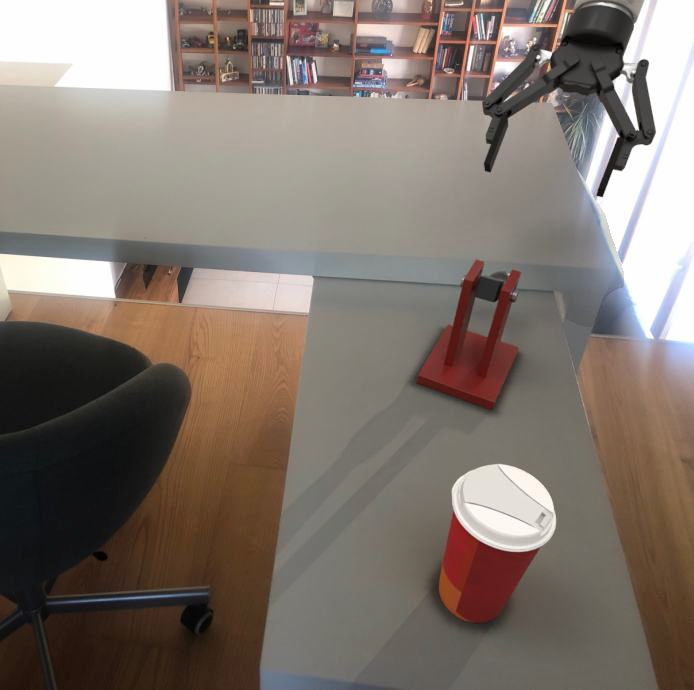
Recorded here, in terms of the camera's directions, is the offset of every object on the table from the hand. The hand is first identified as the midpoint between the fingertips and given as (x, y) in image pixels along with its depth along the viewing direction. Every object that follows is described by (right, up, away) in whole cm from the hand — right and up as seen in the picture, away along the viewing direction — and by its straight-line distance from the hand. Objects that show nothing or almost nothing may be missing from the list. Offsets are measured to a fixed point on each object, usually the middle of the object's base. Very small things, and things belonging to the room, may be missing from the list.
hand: (541, 180), depth 86 cm
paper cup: (-17, -43, -24) cm, 52 cm away
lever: (-8, -15, -4) cm, 18 cm away
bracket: (-10, -23, -2) cm, 25 cm away
